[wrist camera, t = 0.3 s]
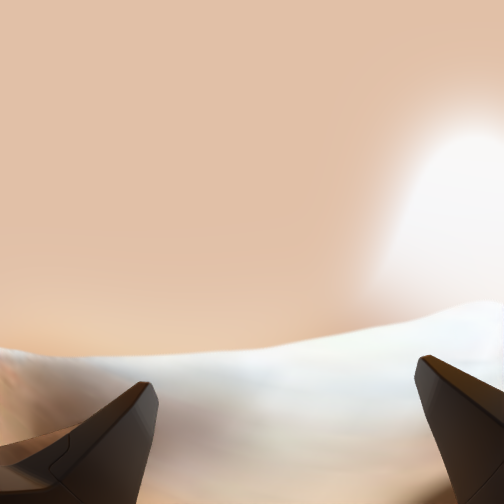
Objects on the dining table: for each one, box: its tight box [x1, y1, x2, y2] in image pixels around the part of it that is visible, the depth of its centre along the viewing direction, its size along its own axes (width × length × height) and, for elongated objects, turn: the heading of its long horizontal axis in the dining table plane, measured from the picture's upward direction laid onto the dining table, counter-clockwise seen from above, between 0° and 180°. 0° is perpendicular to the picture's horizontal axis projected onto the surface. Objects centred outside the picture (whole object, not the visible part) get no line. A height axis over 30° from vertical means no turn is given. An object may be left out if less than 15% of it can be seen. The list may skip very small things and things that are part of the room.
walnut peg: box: [0, 423, 81, 466], centre depth 16 cm, size 5×5×12 cm
